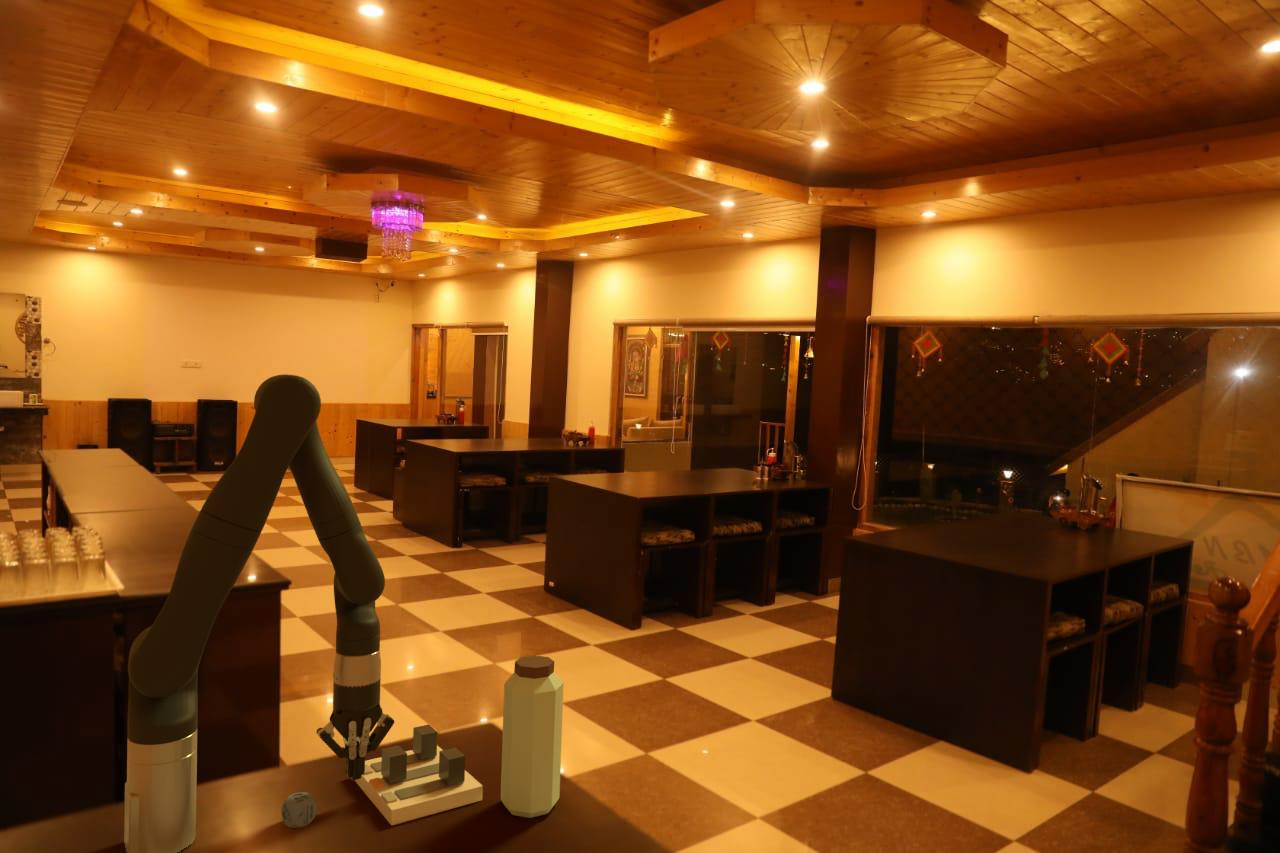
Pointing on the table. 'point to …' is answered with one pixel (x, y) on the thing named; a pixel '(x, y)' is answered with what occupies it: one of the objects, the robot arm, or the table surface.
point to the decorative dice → (299, 810)
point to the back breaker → (425, 741)
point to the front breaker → (451, 766)
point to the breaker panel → (416, 789)
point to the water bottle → (531, 737)
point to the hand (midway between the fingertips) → (355, 777)
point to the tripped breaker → (394, 764)
